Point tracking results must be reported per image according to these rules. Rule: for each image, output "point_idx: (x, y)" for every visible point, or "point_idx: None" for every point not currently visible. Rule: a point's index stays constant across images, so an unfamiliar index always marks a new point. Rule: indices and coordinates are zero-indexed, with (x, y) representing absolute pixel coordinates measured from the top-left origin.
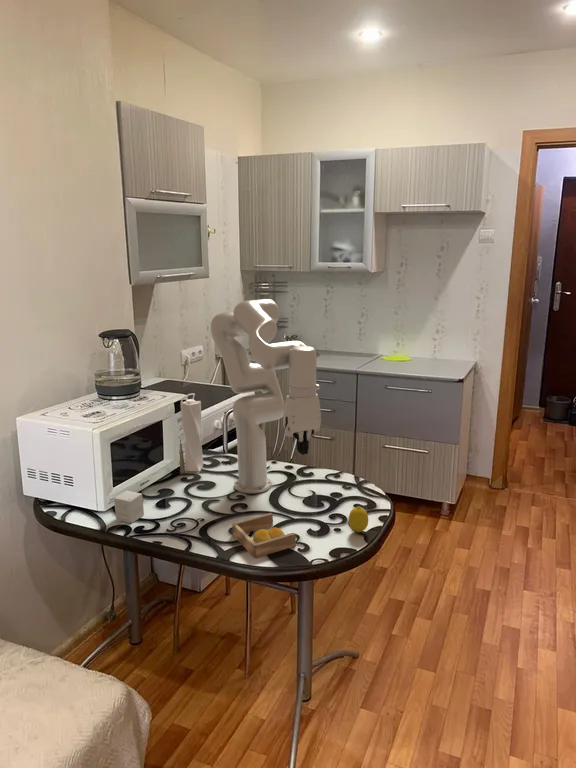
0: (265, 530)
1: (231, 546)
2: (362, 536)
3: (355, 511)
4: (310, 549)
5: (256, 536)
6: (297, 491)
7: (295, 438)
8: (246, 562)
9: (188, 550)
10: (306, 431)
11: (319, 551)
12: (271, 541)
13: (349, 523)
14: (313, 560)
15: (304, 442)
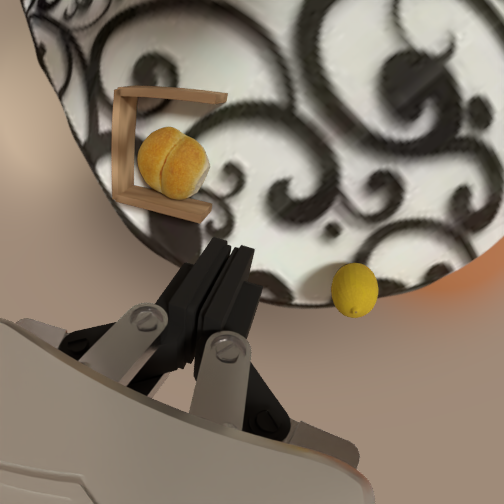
0: (157, 160)
1: None
2: None
3: (342, 306)
4: (226, 240)
5: (138, 159)
6: (419, 9)
7: (136, 309)
8: None
9: (61, 97)
10: (228, 406)
11: None
12: (145, 208)
13: (335, 274)
14: None
15: (184, 363)
